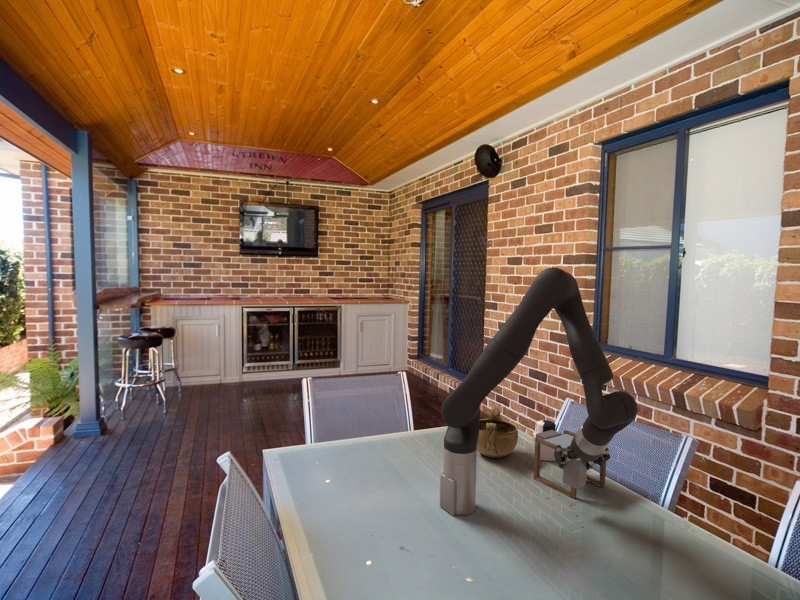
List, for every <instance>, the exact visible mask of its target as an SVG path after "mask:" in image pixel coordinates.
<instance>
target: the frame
mask: <svg viewBox="0 0 800 600" xmlns="http://www.w3.org/2000/svg"><path fill="white" fill-rule="evenodd" d="M576 433H577V432H576ZM576 433H575V432H572V431H570V430H567V429H565V430H563V434H568V435H571V436H573V437H574V436H575V434H576ZM540 443H541V444H543V445H545V446H548V447H550V448H553V449H555V448H556V446H557V445H555V444H553V443H550V442H548V441H545V440H543V439H540V438H535V456H534V458H533V460H534V461H533V462H534V463H533V467H534V468H533V480H535V481H537V482H539V483H542V484H543V485H545V486H547V487H549V488H551V489H553V490H555V491H557V492H559V493H561V494H563V495H565V496H566V497H569V498H571V499H573V500H575V499H577V493H578V492H577V491H578V489H576V488H573V487H571V486H570V490H569V489H567V488H565V487H563V486H561V485H558V484H557V483H555V482H553V481H551V480H549V479H546V478H545V477H542V476H540V472H541V471H540V468H541V465H540V464H541V460H540ZM562 448H563V447H562ZM563 469H564V468H563ZM563 469H562V470H563ZM606 473H607V461H606V462H605V463H604V464H603V465H601V466H600V465H599V479H596V478H594V477H592V476H590V475H588V474H587V475H586V479H587V480H589V481H591V482H594V483H596V484H598V485H600V486H602V487H603V488H605V487H606V475H607V474H606ZM587 480H586V481H587ZM589 481H588V482H589ZM591 482H590V483H591ZM596 484H595V485H596ZM598 485H597V486H598ZM600 486H599V487H600ZM604 486H605V487H604ZM602 487H601V488H602Z"/></svg>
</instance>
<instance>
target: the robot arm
mask: <svg viewBox="0 0 800 600" xmlns="http://www.w3.org/2000/svg"><path fill="white" fill-rule="evenodd" d="M553 309H554V311H555V313H556V314H557V316H558V317H559V320H560V321H561V323H562V327H563V330H564V331H565V334H566V340H567V345H568V349H569V352H570V355H571V358H572V361H573V363H574V366H575V368H576V371H577V373H578V375H579V377H580V380H581V382H582V387H583V392H584V398H585V399H584V400H585V405H586V406H585V407H586V412H587V415H588V416H587V417H586V418H585V421H584V422H583V423H582V425H580V426H579V428H578V429H577V431H576V434H575V436H574V438H573V439H572V442H571V445H570V446H568V447H567V448H562V447H561V445H557V446H556V448H555V452H554V456H555V461H554V462H555V463H557V465H558V466H557V467H559V469H563V468H564V466H565V465H566V463H568V462H569V463H572V462H575V461H577V460H578V461H579V460H584V461H587V471H589V470H590V469H592V468H593V467H594V466H596V465H598V466H599V467H600V466H601V465H603V464H604V463H605V462H606V463H607V461H609V460H610V459H611V455H610V454H611V453H610V450H609V448H608V446H609V444H610V442H611V441H612V439H613V438H614V437H615V435H616V434H617V433H619V432H620V431H621V432H622V430H624V429H625V428H626V427H628V426H629V425H630V424H631V423H633V422H634V420H635V419H636V417H637V415H638V411H639V410H638V403H637V401H636V399H635V398H634V396H632V394H630V393H628V392H626V391H623V390H622V391H621V390H617V391H613V392H609V393H606V394H603V386H604V385H606V384H608V383H609V382H610V381H612V380H613V378H614V373H613V370H612V368H611V366H610V364H609V361H608V359H607V358H606V356H605V353H604V351H603V349H602V347H601V345H600V343H599V341H598V338H597V336H596V334H595V332H594V330H593V328H592V325H591V323H590V321H589V318H588V315H587V313H586V309H585V306H584V303H583V299H582V295H581V292H580V287H579V285H578V282H577V279H576V277H574V275H572V274H571V273H569V272H567V271H565V270H563V269H562V268H559V267H555V266H554V267H546V268H545V269H543V270H542V271H541V272H539V273H538V274H537V275H536V277H535V278H534V280H533V281H532V283H531V285H530V286H529V287H528V289H527V291H526V292H525V294H524V296H523V297H522V298H521V301H520V302H519V303H518V305H517V306H516V308H515V309H514V311H513V312H512V313H511V314H510V316H509V317H508V318H507V319H506V321H505V322H504V323H503V324H502V325H501V327H500V328H499V330H498V331H497V332H496V333H495V334H494V335H493V336H492V338H491V339H490V341H489V342H487V343H488V344H486V346H485V348H484V349H483V351H482V352H481V353H480V355H479V356H478V358H477V359H476V361H475V363H474V364H473V366H472V367H471V369H470V370H469V372H468V374H467V375H466V376H465V378H464V379H463V380H462V381H461V382H460V384H459V385H457V387H456V388H455V389H454V390H453V391H451V393H450V394H449V395H448V396H447V397H446V398H445V399H444V400H443V401H442V404H441V408H440V414H441V418H442V420H443V422H444V423H445V424H446V425H447V429H446V432H445V433H444V434H445V435H444V437H443V461H442V462H443V463H442V464H443V465H442V466H443V467H442V468H443V469H442V473H440V476H439V477H440V478H439V507H440V506H441V507H440V508H442V509H443V510H444V509H445V510H444V511H446V512H447V513H448V512H449V514H450V515H451V516H453V515H454V516H466V515H470V514H472V513H474V512H475V510H476V496H477V495H476V493H477V491H476V490H477V484H476V483H477V453H478V451H477V441H478V437H479V425H480V419H481V405H482V403H483V402H484V400H485V399H486V397H487V396H488V395H489V394H490V393H491V392H492V391H493V390H495V388H496V387H498V386H499V384H501V383H502V382H503V381H504V380H505V379H506V378H507V377H508V376H509V375H510V374H511V373H512V372H513V370H514V369H515V368H516V367H517V366H518V364H519V363H520V362H521V361H522V360H523V359H524V357H526V354H527V353H528V351H529V349H530V346H531V344H532V342H533V340H534V336H535V334H536V332H537V330H538V328H539V326H540V325H541V323H542V322H543V320H544V319H545V318H546V317H547V316H548V315H549V313H550V312H551V311H552V310H553ZM565 456H566V459H565ZM571 457H572V458H571Z"/></svg>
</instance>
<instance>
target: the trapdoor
mask: <svg viewBox="0 0 800 600" xmlns="http://www.w3.org/2000/svg"><path fill="white" fill-rule="evenodd" d="M536 438H540V439H543V440H545V441H548V442H550V443H553V444H555V445H561V447H563V448H567V447H568V446H570V445H571V442H572V439H573V438H574V437H573V436H571V435H568V434H564V433H561V432H559V431H554V430H549V431H546V432H542V433H538V434H536Z"/></svg>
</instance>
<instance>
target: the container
mask: <svg viewBox="0 0 800 600" xmlns="http://www.w3.org/2000/svg"><path fill="white" fill-rule="evenodd" d="M556 425H557V424H556V423H555V422H553V421H551V420H550V419H549V420H548V419H541V420H538V421H537V422H536V431H533V433H532V455H534V457H535V438H536V434H538V433H542V432H546V431H549V430H554V431H556V427H557V426H556ZM556 432H557V431H556ZM554 452H555V449H553V448H550V447H548V446H545V445H543V444H541V443H540V461H546V462H555V456H554Z"/></svg>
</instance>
